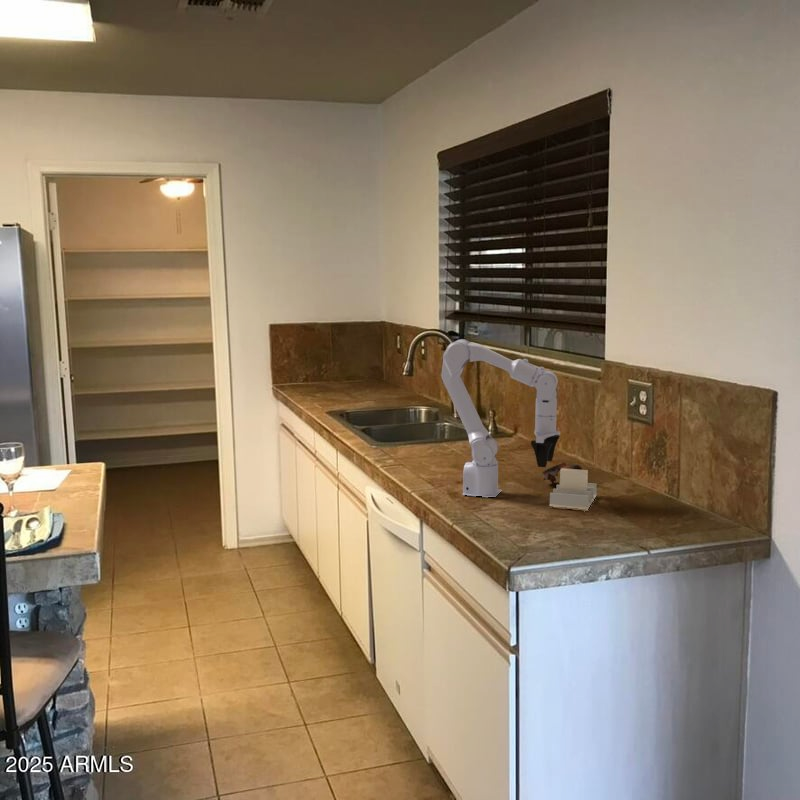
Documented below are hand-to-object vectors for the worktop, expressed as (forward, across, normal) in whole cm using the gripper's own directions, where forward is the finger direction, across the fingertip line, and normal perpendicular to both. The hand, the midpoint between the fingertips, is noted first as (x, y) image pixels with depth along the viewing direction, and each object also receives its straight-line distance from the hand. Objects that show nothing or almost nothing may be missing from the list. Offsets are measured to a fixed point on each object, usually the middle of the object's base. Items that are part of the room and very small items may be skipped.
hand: (545, 463), depth 239 cm
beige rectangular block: (+8, -3, -9) cm, 12 cm away
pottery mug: (+10, +14, -3) cm, 17 cm away
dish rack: (+9, -3, -9) cm, 13 cm away
